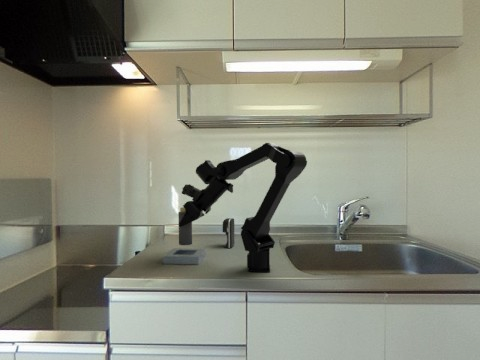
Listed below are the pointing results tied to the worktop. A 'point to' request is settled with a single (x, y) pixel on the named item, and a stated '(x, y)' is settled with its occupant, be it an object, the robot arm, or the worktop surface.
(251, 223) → the robot arm
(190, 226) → the plug
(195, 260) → the housing
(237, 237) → the worktop surface
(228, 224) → the battery charger
